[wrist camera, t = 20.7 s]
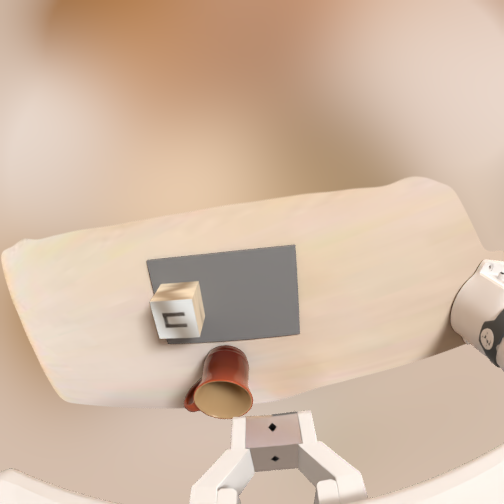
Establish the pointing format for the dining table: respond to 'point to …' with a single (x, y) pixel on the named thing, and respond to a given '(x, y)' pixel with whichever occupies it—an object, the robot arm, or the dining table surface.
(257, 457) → the robot arm
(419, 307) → the dining table surface
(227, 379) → the mug
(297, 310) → the mat
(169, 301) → the letter block
